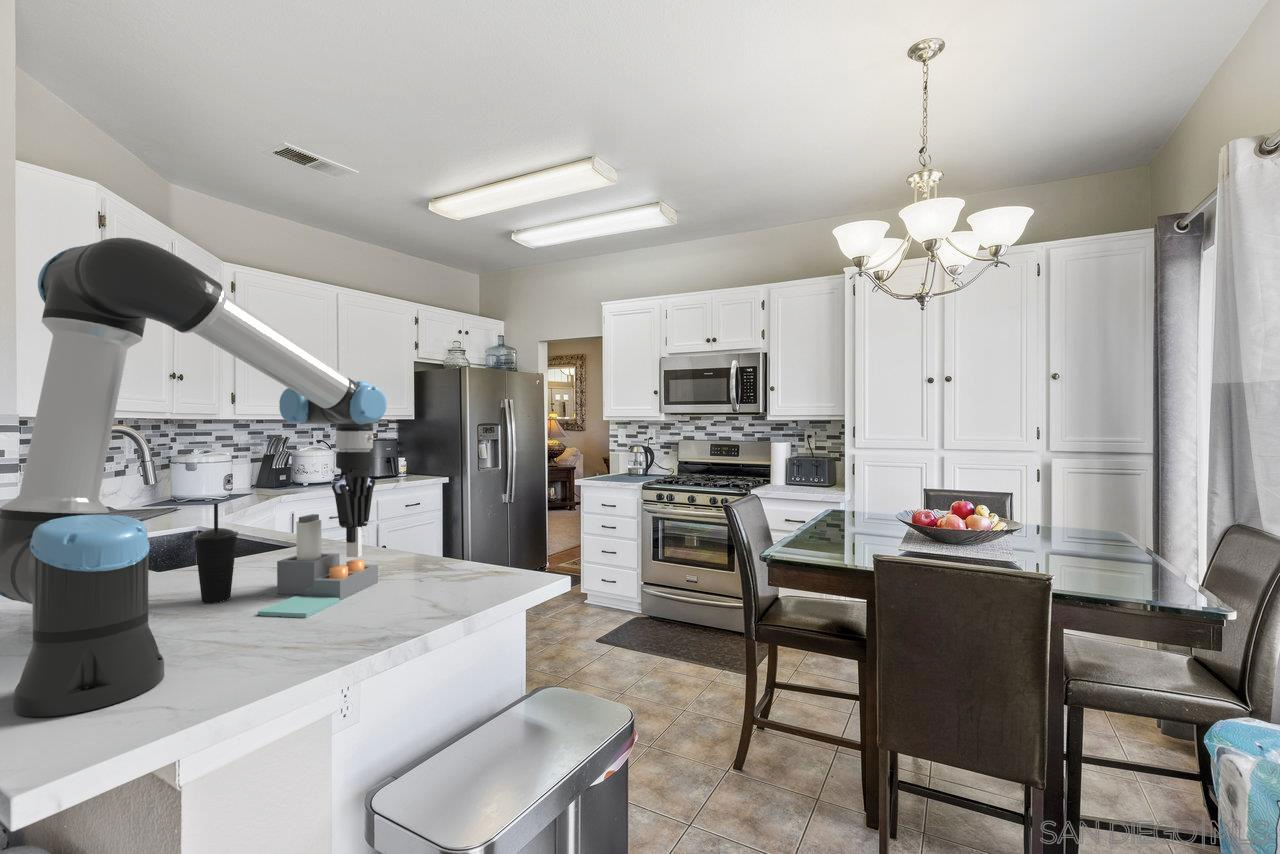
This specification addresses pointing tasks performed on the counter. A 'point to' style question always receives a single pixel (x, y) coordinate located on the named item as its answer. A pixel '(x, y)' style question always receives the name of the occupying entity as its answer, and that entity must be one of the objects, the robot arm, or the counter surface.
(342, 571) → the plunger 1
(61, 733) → the counter surface
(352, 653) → the counter surface
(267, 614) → the mat
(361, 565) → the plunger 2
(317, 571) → the grey stepped holder
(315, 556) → the cylinder
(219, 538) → the drinking cup
